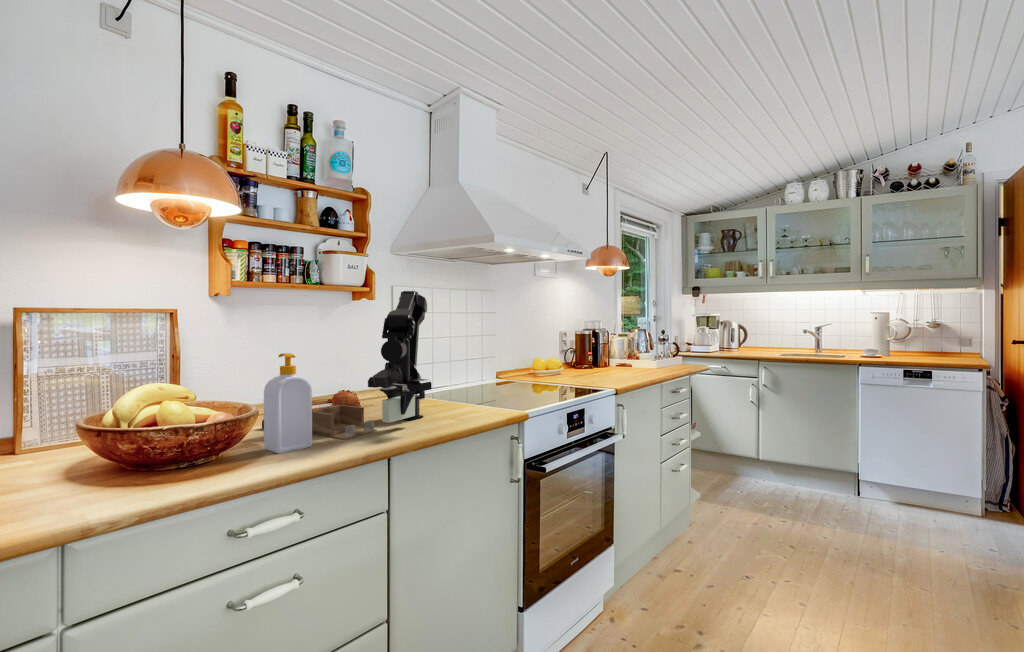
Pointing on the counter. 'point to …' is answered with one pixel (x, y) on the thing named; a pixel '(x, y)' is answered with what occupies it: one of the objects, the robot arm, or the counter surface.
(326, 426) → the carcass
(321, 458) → the counter surface
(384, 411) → the door
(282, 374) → the soap bottle
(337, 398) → the orange-red spiky ball
